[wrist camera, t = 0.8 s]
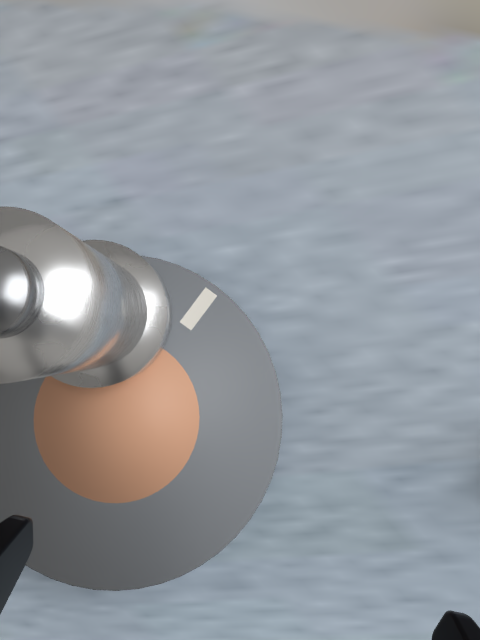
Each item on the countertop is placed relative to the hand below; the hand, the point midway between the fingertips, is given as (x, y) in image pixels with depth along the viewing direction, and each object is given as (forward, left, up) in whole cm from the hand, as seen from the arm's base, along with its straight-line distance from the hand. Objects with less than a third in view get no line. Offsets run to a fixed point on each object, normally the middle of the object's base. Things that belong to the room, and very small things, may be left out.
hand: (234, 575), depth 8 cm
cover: (+1, +10, -12) cm, 16 cm away
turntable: (-3, +6, -14) cm, 15 cm away
